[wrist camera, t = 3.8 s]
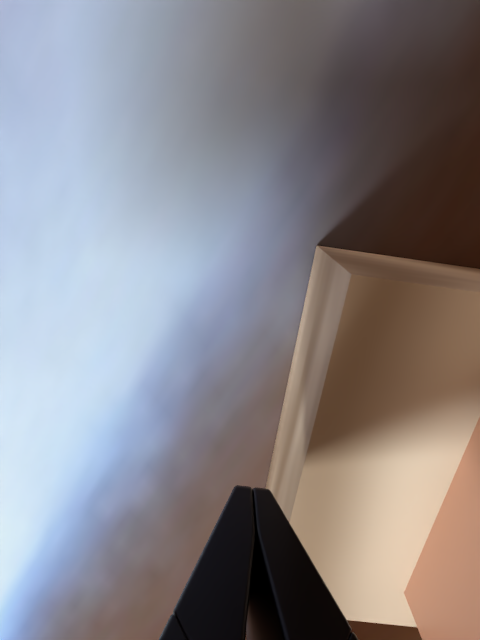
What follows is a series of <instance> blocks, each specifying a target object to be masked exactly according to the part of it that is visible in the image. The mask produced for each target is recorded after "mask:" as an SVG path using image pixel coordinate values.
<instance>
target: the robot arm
mask: <svg viewBox="0 0 480 640" xmlns="http://www.w3.org/2000/svg"><path fill="white" fill-rule="evenodd" d="M351 631H352V628H351V626H350V625H349V623H348V621H347V620H346V618H345V616H344V615H343V613H342V611H341V609H340V608H339V606H338V604H337V603H336V601H335V599H334V598H333V596H332V594H331V592H330V591H329V589H328V587H327V586H326V584H325V582H324V581H323V579H322V577H321V575H320V574H319V572H318V570H317V569H316V567H315V565H314V564H313V562H312V560H311V559H310V557H309V555H308V553H307V552H306V550H305V548H304V547H303V545H302V543H301V542H300V540H299V538H298V536H297V535H296V533H295V531H294V530H293V528H292V526H291V525H290V523H289V521H288V519H287V518H286V516H285V514H284V513H283V511H282V509H281V508H280V506H279V504H278V503H277V501H276V499H275V497H274V496H273V494H272V492H271V491H270V490H269V489H265V488H253V489H252V488H251V487H247V486H238V485H237V486H235V487H234V489H233V491H232V493H231V495H230V497H229V499H228V501H227V503H226V505H225V507H224V509H223V511H222V513H221V515H220V517H219V519H218V521H217V523H216V525H215V527H214V529H213V531H212V533H211V535H210V538H209V540H208V542H207V544H206V546H205V548H204V550H203V552H202V554H201V556H200V558H199V560H198V562H197V564H196V566H195V568H194V570H193V572H192V574H191V576H190V578H189V580H188V582H187V584H186V586H185V588H184V590H183V592H182V594H181V596H180V598H179V600H178V603H177V605H176V607H175V609H174V611H173V614H172V615H171V616H170V618H169V620H168V622H167V624H166V626H165V628H164V630H163V632H162V634H161V636H160V638H159V640H245V635H246V636H247V640H358V638H357V636H356V635H355V633H354V632H352V633H351Z"/></svg>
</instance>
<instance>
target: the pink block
mask: <svg viewBox="0 0 480 640" xmlns="http://www.w3.org/2000/svg"><path fill="white" fill-rule="evenodd" d="M404 595H405V597H406V600H407V602H408V605H409V607H410V610H411V612H412V615H413V618H414V620H415V623H416V625H417V628H418V630H419V633H420V635H421V638H422V640H480V417H479V419H478V421H477V424H476V426H475V428H474V431H473V433H472V435H471V438H470V440H469V442H468V445H467V447H466V449H465V452H464V454H463V456H462V459H461V461H460V463H459V466H458V468H457V470H456V473H455V475H454V477H453V480H452V482H451V484H450V487H449V489H448V491H447V494H446V496H445V498H444V500H443V503H442V505H441V507H440V510H439V512H438V514H437V517H436V519H435V521H434V524H433V526H432V528H431V531H430V533H429V535H428V538H427V540H426V542H425V545H424V547H423V549H422V552H421V554H420V556H419V559H418V561H417V563H416V566H415V568H414V570H413V573H412V575H411V577H410V580H409V582H408V584H407V587H406V589H405V591H404Z"/></svg>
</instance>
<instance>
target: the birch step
mask: <svg viewBox="0 0 480 640" xmlns="http://www.w3.org/2000/svg"><path fill="white" fill-rule="evenodd" d="M479 417H480V269H476V268H469V267H462V266H455V265H449V264H442V263H435V262H428V261H421V260H414V259H407V258H400V257H393V256H386V255H379V254H372V253H365V252H358V251H352V250H345V249H338V248H331V247H324V246H316V251H315V256H314V260H313V265H312V270H311V275H310V279H309V284H308V289H307V294H306V298H305V303H304V308H303V313H302V317H301V322H300V327H299V332H298V336H297V341H296V346H295V351H294V355H293V360H292V365H291V370H290V374H289V379H288V384H287V389H286V393H285V398H284V403H283V408H282V412H281V417H280V422H279V427H278V431H277V436H276V441H275V446H274V450H273V455H272V460H271V465H270V469H269V474H268V479H267V484H266V488H265V489H269V490H270V491H271V492H272V494H273V496H274V497H275V499H276V501H277V503H278V504H279V506H280V508H281V509H282V511H283V513H284V514H285V516H286V518H287V519H288V521H289V523H290V525H291V526H292V528H293V530H294V531H295V533H296V535H297V536H298V538H299V540H300V542H301V543H302V545H303V547H304V548H305V550H306V552H307V553H308V555H309V557H310V559H311V560H312V562H313V564H314V565H315V567H316V569H317V570H318V572H319V574H320V575H321V577H322V579H323V581H324V582H325V584H326V586H327V587H328V589H329V591H330V592H331V594H332V596H333V598H334V599H335V601H336V603H337V604H338V606H339V608H340V609H341V611H342V613H343V615H344V616H345V618H346V620H351V621H361V622H371V623H381V624H390V625H400V626H410V627H417V625H416V623H415V620H414V618H413V615H412V612H411V610H410V607H409V605H408V602H407V600H406V597H405V595H404V591H405V589H406V587H407V584H408V582H409V580H410V577H411V575H412V573H413V570H414V568H415V566H416V563H417V561H418V559H419V556H420V554H421V552H422V549H423V547H424V545H425V542H426V540H427V538H428V535H429V533H430V531H431V528H432V526H433V524H434V521H435V519H436V517H437V514H438V512H439V510H440V507H441V505H442V503H443V500H444V498H445V496H446V494H447V491H448V489H449V487H450V484H451V482H452V480H453V477H454V475H455V473H456V470H457V468H458V466H459V463H460V461H461V459H462V456H463V454H464V452H465V449H466V447H467V445H468V442H469V440H470V438H471V435H472V433H473V431H474V428H475V426H476V424H477V421H478V419H479Z"/></svg>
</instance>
